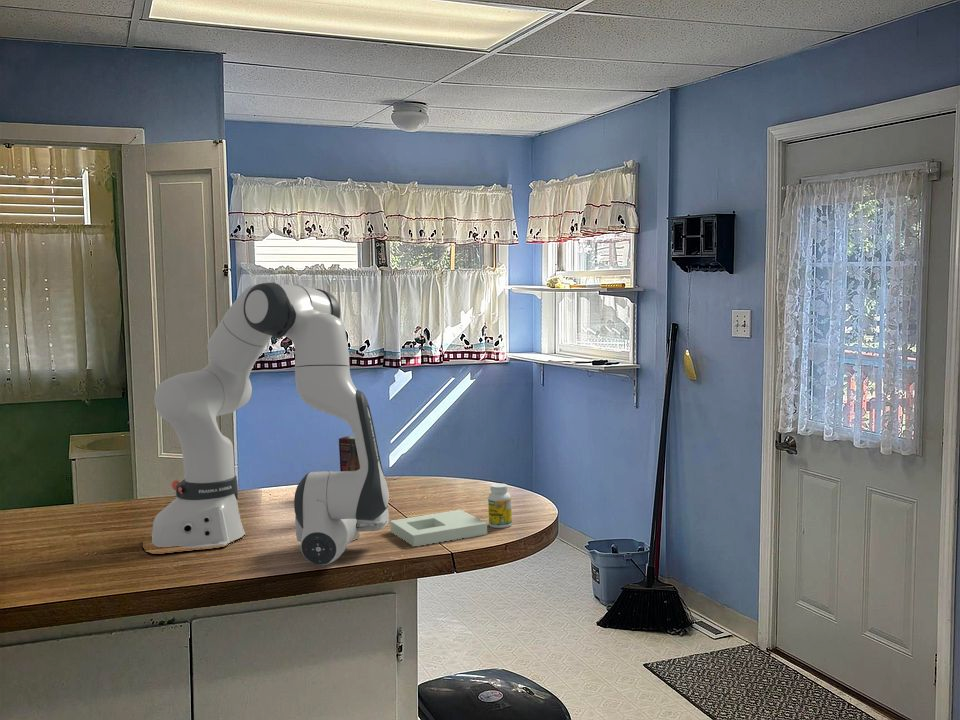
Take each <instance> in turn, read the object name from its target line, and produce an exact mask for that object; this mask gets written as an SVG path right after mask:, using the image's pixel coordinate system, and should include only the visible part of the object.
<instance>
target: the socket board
mask: <svg viewBox="0 0 960 720" xmlns="http://www.w3.org/2000/svg"><path fill="white" fill-rule="evenodd" d="M389 524H390V533H391V534H393V533H394V534H393V535H395V536H396V535H397V536H396V537H398V536H399V537H400V538H399V537H398V538H399V539H401V538H402V539H403V540H402V539H401V540H402V541H404V540H405V541H406V543H407V542H408V543H410V544H411V545H412V547H413V546H418V547H420V546H419V545H424V546H427V545H426V544H429V545H433V544H432V543H435V544H440V543H439V542H441V543H444V541H447V542H451V541H450V540H452V541H457V539H458V540H462V538H464V539H469V538H474V537H480V536H486V535H488V523H487V522H485V521H484V520H483V519H482V520H481V519H480V518H477V517H475V516H474V515H472V514H470V513H467V512H466V511H464V510H462V509H456V510H450V511H443V512H436V513H431V514H424V515H418V516H413V517H406V518H399V519H393V520H389ZM405 541H404V542H405ZM408 543H407V544H408ZM410 544H409V545H410ZM411 545H410V546H411Z"/></svg>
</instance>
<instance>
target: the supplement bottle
mask: <svg viewBox="0 0 960 720" xmlns="http://www.w3.org/2000/svg"><path fill="white" fill-rule="evenodd" d="M508 487H509V485H508V484H506V483H500V482H499V483H493V484H490V489H489V490H490V492H491V493H489V495H488V497H487V504H488V505H487V506H488V507H487V508H488V524H489V527H491V528H494V529H505V528H509V527H511V526H512V523H513V516H512V514H513V513H512V496H511V494H510V493H509V492H508V490H509V489H508Z"/></svg>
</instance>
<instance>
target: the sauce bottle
mask: <svg viewBox="0 0 960 720" xmlns="http://www.w3.org/2000/svg"><path fill="white" fill-rule="evenodd" d="M348 441H349V444H350V458H349V460H348V462H347V471H357V470H359V469H360V464H359V459H358V453H357V448H356V443H355V438H354V435H352V437H349V438H348Z"/></svg>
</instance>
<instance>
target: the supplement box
mask: <svg viewBox="0 0 960 720" xmlns="http://www.w3.org/2000/svg"><path fill="white" fill-rule="evenodd" d="M352 436H353V435H352ZM352 436H351V435H347V436H342V437H340V438H338V447H339V448H338V450H339V453H338V455H339V469H340V470H339V472H340V471H347V462H348V460H349V458H350V444H349V441H348V438H349V437H352Z"/></svg>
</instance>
